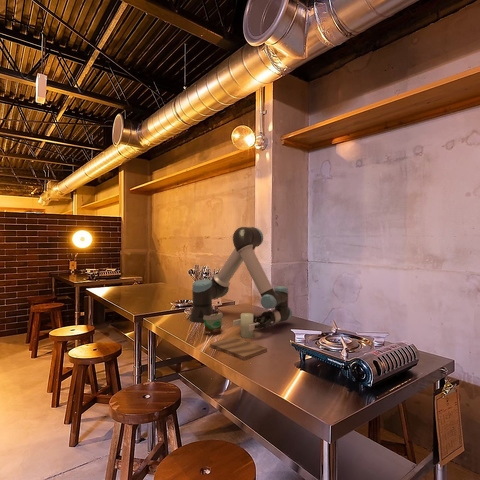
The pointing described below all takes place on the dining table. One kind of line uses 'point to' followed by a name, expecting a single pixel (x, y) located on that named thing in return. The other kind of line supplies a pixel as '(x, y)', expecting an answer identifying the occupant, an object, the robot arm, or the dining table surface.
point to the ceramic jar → (246, 325)
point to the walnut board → (238, 348)
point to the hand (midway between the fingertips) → (241, 325)
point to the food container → (213, 323)
